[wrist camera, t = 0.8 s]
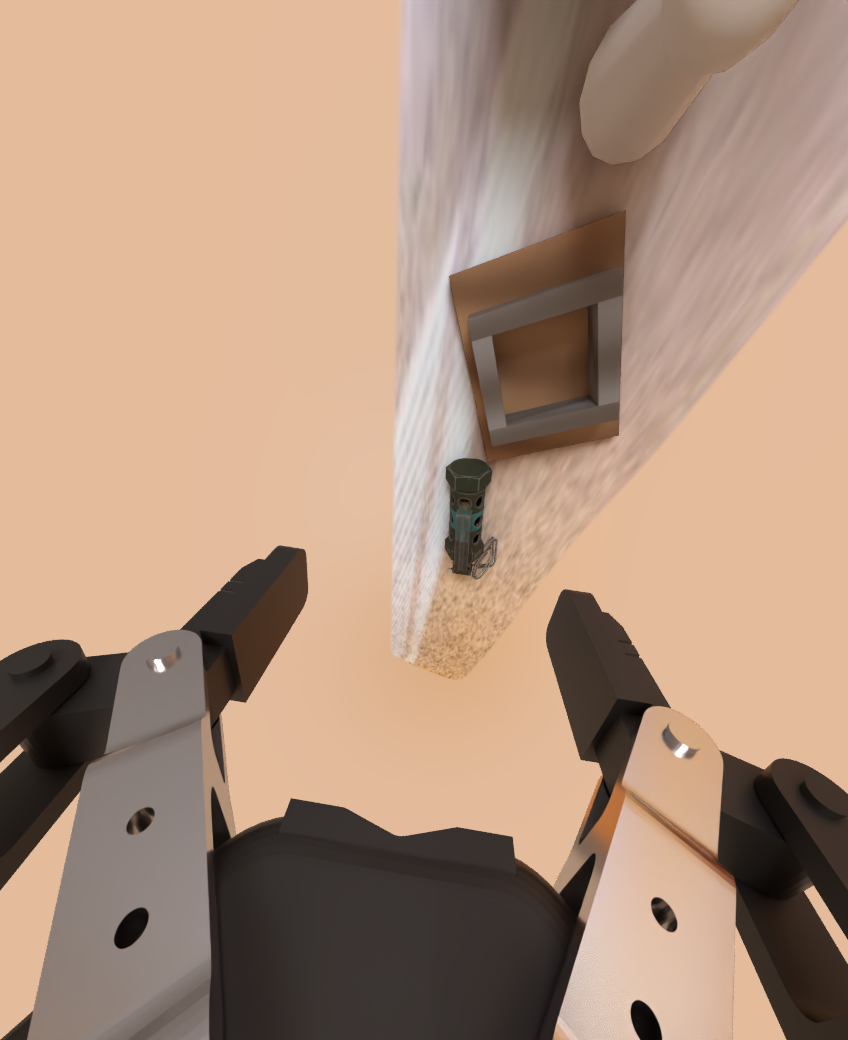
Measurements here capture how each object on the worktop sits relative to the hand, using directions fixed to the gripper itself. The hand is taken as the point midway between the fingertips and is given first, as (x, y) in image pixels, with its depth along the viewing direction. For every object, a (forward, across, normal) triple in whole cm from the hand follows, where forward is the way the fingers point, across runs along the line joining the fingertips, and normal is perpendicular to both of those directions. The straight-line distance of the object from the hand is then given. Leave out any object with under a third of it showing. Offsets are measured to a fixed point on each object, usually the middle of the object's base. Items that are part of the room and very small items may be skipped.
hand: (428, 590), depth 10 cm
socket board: (+24, -7, -7) cm, 26 cm away
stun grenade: (+28, -4, +10) cm, 30 cm away
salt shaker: (+22, -8, -21) cm, 31 cm away
